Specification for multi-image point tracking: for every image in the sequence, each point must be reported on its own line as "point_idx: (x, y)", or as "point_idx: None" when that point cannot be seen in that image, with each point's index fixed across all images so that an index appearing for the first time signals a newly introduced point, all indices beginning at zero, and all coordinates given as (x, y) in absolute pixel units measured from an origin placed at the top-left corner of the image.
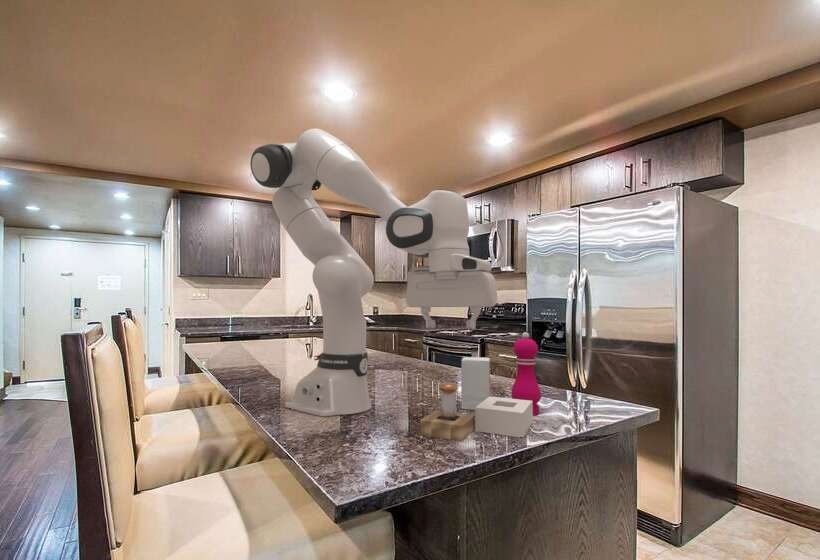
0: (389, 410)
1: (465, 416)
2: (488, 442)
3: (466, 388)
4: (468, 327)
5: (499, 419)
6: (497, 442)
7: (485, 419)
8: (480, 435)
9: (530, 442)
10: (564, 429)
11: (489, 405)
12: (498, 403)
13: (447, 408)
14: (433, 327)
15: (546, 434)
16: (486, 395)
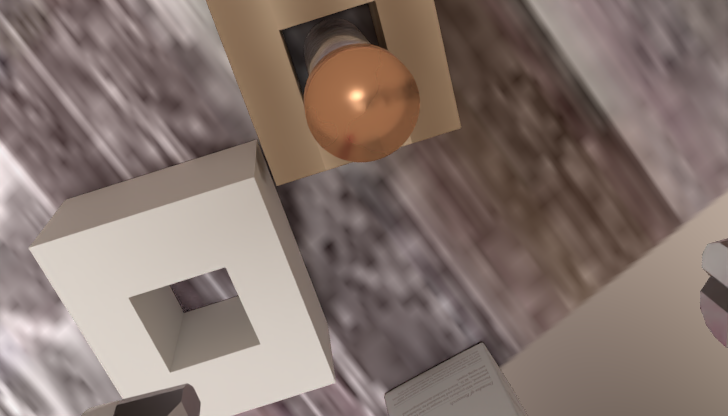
0: (724, 126)
1: (293, 136)
2: (122, 54)
3: (490, 412)
4: (145, 394)
5: (146, 196)
6: (97, 80)
7: (209, 173)
8: (207, 109)
9: (9, 174)
10: (35, 388)
11: (229, 253)
12: (254, 338)
13: (328, 42)
14: (712, 292)
15: (37, 297)
16: None
